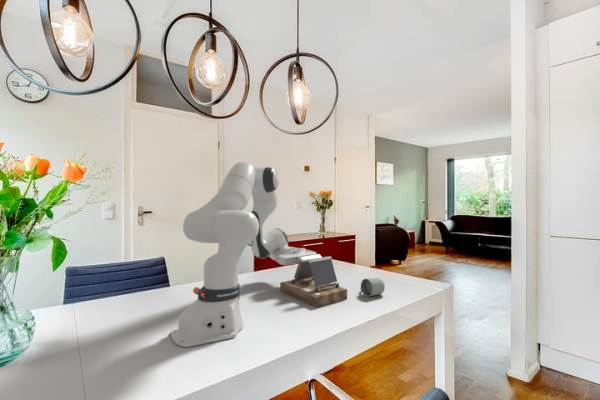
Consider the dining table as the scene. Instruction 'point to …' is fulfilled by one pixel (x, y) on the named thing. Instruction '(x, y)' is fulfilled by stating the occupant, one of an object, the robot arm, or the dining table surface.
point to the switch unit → (313, 291)
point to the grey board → (305, 267)
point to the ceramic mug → (372, 286)
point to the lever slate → (323, 271)
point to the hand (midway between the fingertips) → (307, 260)
